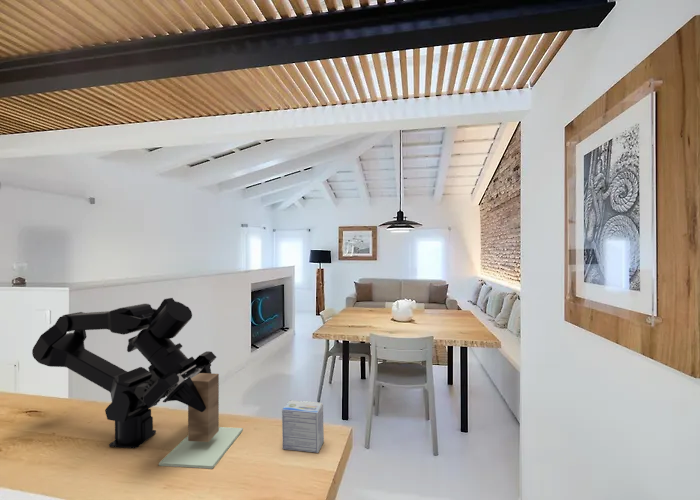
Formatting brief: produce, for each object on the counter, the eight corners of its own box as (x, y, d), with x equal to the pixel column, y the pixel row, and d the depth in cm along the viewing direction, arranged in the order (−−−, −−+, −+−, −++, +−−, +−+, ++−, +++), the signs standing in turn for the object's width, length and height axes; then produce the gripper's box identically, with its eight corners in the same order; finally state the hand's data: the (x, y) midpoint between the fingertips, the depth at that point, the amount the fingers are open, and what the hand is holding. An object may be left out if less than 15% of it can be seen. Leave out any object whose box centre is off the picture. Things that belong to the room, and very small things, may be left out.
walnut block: (188, 440, 71) (188, 380, 71) (199, 429, 76) (199, 373, 76) (208, 442, 71) (208, 381, 71) (218, 430, 75) (218, 373, 75)
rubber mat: (158, 465, 67) (158, 463, 67) (197, 428, 81) (197, 426, 81) (212, 468, 66) (212, 466, 66) (242, 430, 80) (242, 428, 80)
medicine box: (324, 442, 74) (323, 402, 74) (318, 454, 70) (317, 411, 70) (289, 438, 76) (289, 399, 76) (281, 450, 72) (281, 408, 72)
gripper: (164, 362, 84) (207, 410, 83) (101, 395, 65) (155, 456, 64) (194, 331, 83) (238, 378, 82) (139, 355, 65) (195, 416, 63)
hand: (210, 405), depth 73 cm, fingers closed on walnut block, 4 cm apart
